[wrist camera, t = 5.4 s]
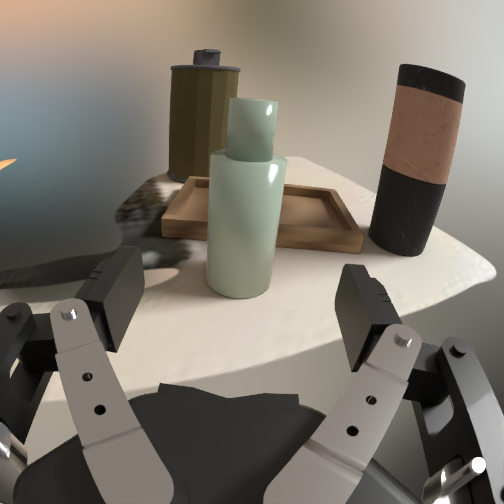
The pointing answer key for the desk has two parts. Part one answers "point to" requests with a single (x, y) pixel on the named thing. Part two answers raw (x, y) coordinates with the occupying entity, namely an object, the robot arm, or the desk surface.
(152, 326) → the desk surface
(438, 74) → the travel mug
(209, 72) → the canister
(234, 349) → the desk surface
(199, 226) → the walnut tray
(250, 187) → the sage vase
